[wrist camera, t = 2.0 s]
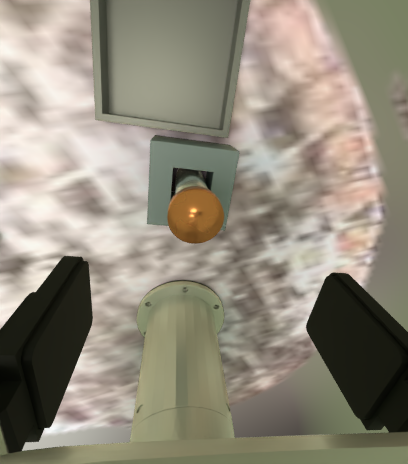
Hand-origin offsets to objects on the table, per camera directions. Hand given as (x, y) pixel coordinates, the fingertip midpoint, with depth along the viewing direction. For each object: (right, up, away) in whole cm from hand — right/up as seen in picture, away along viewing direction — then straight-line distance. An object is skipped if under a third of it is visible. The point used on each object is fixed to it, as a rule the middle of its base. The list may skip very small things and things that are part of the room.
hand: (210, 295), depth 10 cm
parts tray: (-3, +19, +14) cm, 24 cm away
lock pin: (-2, +9, +19) cm, 21 cm away
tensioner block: (-2, +9, +19) cm, 21 cm away
